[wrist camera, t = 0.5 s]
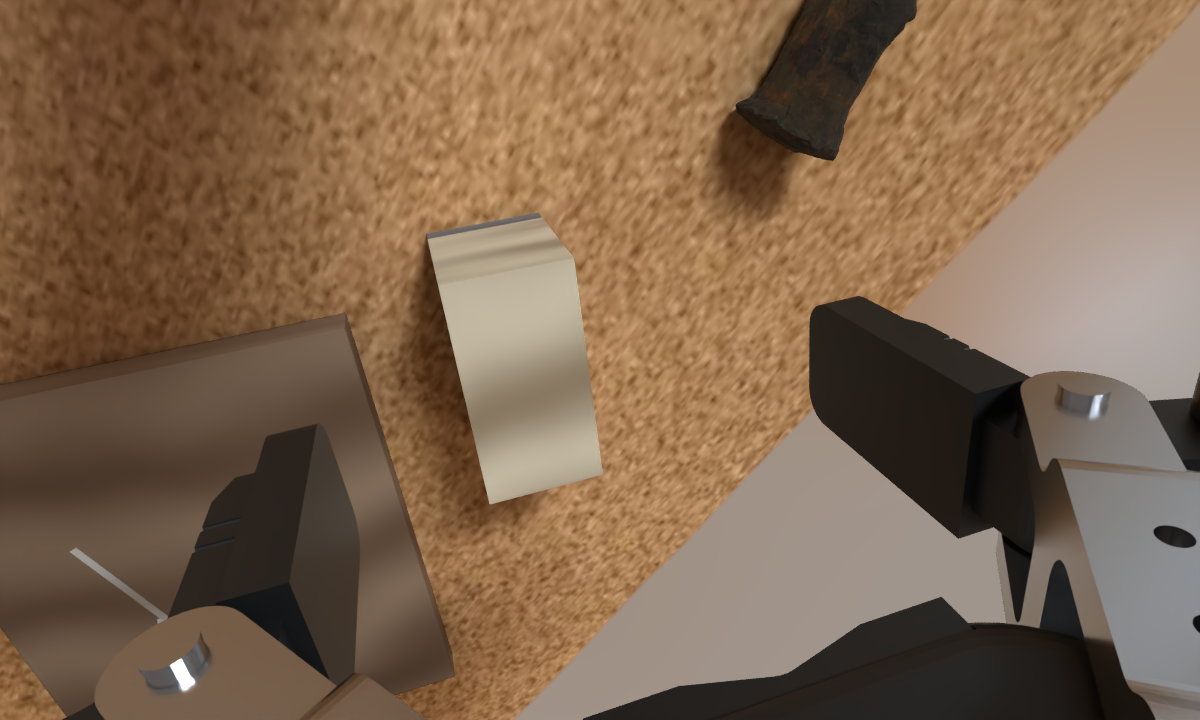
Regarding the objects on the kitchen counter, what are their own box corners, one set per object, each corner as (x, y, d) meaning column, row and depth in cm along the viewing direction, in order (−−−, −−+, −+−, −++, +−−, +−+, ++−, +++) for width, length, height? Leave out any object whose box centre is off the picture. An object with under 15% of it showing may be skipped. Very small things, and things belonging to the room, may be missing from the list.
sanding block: (426, 233, 28) (438, 285, 22) (537, 212, 28) (573, 258, 23) (470, 424, 32) (489, 504, 27) (566, 400, 33) (602, 474, 28)
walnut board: (-119, 409, 25) (-146, 432, 24) (345, 313, 28) (344, 328, 27) (125, 753, 34) (115, 782, 33) (451, 653, 37) (454, 676, 36)
